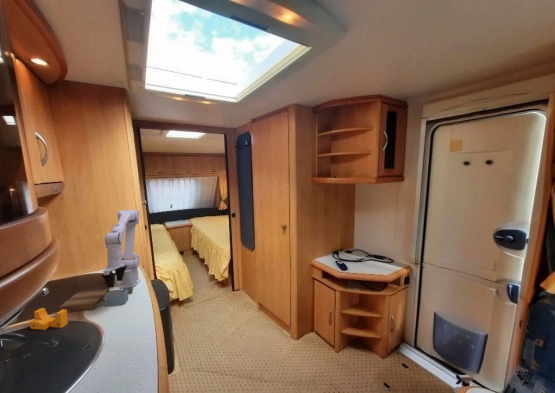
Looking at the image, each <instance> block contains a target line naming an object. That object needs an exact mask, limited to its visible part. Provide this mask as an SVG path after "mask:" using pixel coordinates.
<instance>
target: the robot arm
mask: <svg viewBox="0 0 555 393" xmlns="http://www.w3.org/2000/svg"><path fill="white" fill-rule="evenodd" d="M117 220H118V221H117V223H115V224H114V225H113V226H112V227H111V230H110V231H109V232H108V233H106V234H105V235H104V244H105V249H106V255H107V258H106V259H107V260H106V262H107V266H106V268H105V269H104V270H103V271H102V272H103V273H101V277H102V278H103V279H104V281H105V283H106V285H107V288H108V289H110V288H113V287H115V278H116V281H117V282H121V285H120V286H119V287H118V288H119V289H123V286H124V285H128V284H133V288H135V287H136V286H137V284H138V283H139V282H137V280H138V279H140V278H139V267H140V255H139V254H137V253H136V252H135V238H136V226H137V225H138V224H139V222H140V210H139V209H119V210H118V212H117ZM124 234H125V236H124ZM123 241H124V251H122V243H123ZM135 285H136V286H135ZM134 286H135V287H134Z"/></svg>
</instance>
